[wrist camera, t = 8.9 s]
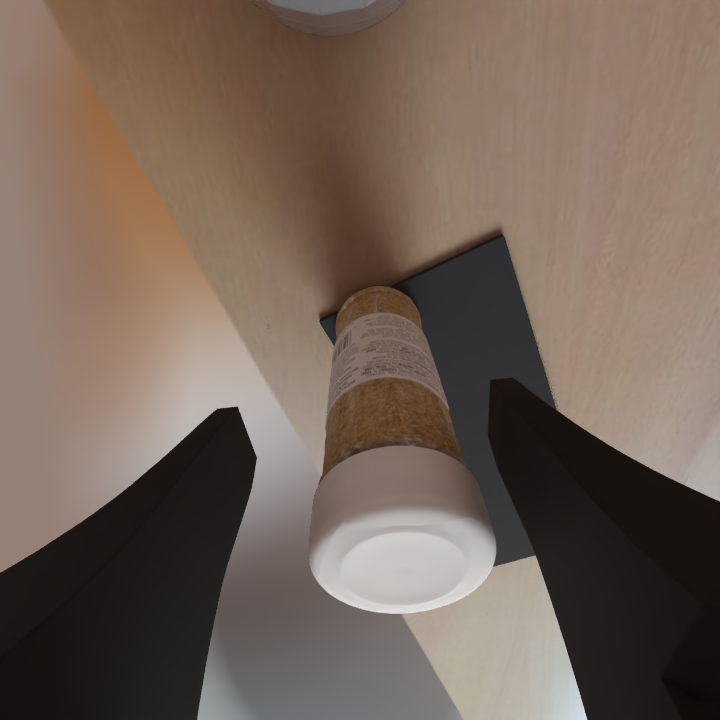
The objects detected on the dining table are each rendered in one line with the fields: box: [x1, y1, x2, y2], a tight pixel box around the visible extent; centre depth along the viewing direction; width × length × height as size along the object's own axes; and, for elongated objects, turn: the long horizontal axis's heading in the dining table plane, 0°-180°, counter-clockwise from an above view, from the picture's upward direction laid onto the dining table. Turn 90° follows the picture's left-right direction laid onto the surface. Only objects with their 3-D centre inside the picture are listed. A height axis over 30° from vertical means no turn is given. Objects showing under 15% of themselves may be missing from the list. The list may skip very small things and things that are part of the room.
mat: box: [320, 234, 556, 567], centre depth 26 cm, size 26×10×1 cm, turn 27°
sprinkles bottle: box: [308, 286, 496, 614], centre depth 15 cm, size 5×5×13 cm
